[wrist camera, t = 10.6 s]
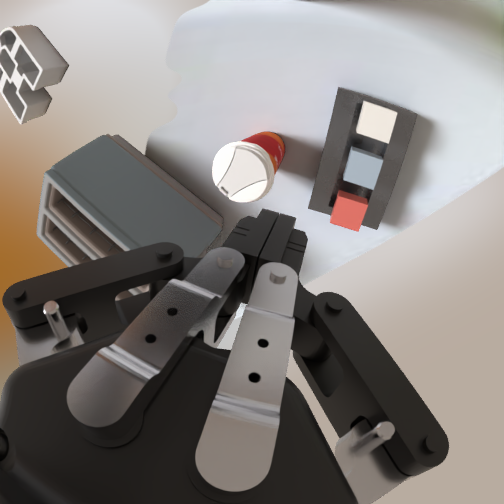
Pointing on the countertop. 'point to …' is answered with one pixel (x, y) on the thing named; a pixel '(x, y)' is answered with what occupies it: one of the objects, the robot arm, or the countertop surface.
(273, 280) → the robot arm
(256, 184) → the coffee cup
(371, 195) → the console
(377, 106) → the white key
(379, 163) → the slate-blue key
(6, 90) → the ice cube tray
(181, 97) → the countertop surface
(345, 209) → the red key
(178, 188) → the toaster
